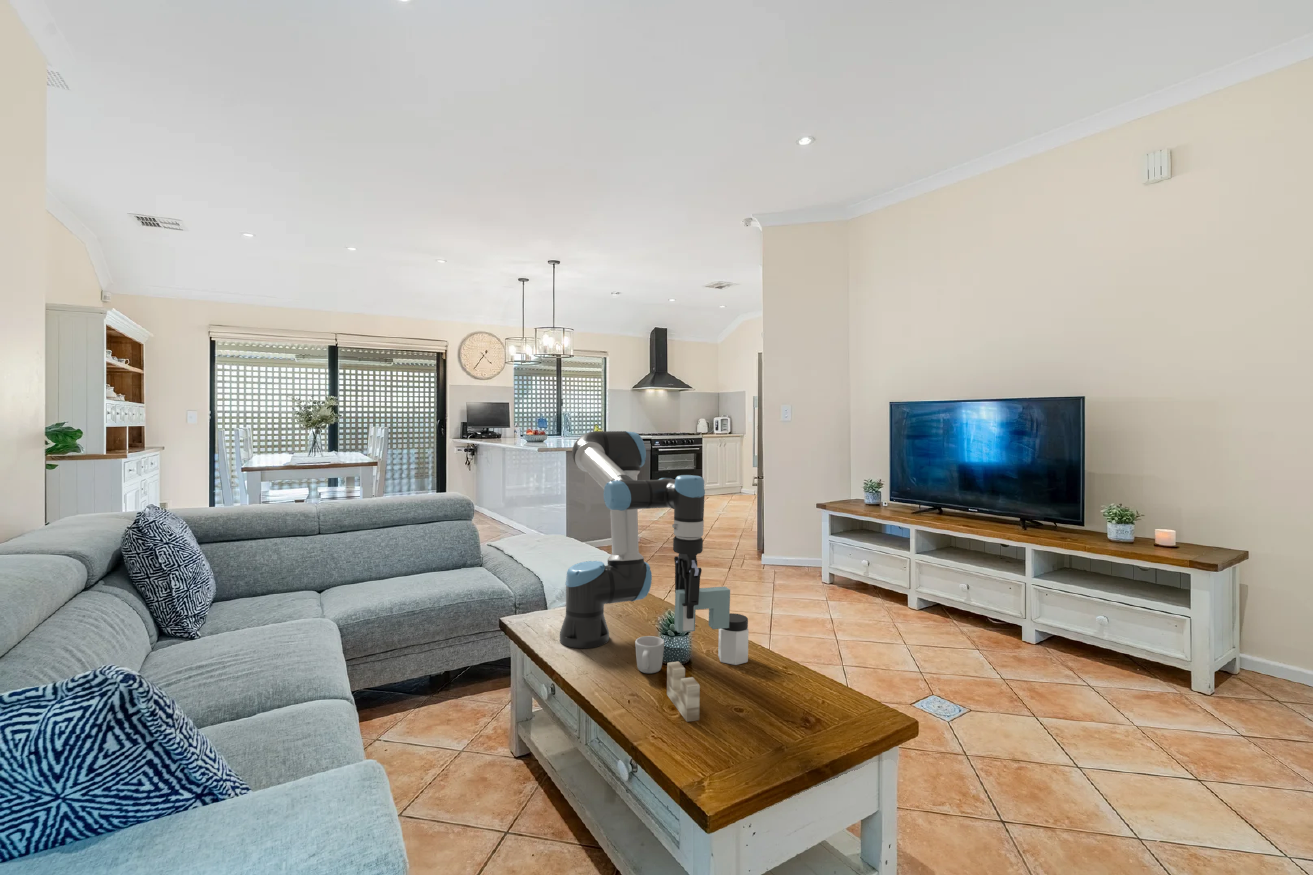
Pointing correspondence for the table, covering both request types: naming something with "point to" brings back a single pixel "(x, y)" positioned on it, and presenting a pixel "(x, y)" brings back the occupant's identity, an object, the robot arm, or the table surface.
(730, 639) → the jar
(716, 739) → the table surface
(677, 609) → the teal board
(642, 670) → the cup
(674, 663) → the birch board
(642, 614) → the table surface
